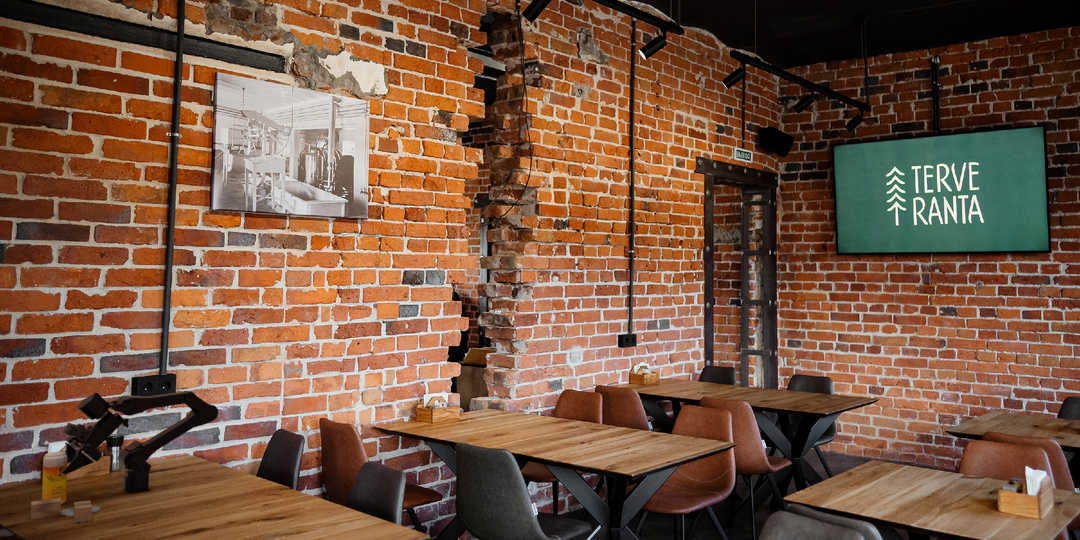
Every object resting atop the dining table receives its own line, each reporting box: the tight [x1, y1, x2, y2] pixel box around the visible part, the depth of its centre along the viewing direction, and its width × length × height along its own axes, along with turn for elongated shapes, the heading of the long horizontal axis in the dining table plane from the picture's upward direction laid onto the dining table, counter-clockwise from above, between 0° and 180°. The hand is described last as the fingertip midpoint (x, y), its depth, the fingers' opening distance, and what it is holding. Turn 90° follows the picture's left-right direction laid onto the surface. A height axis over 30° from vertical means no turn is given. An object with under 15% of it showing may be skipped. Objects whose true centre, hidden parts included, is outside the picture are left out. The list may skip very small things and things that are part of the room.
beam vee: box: [30, 498, 101, 524], centre depth 219 cm, size 15×20×4 cm
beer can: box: [41, 451, 68, 505], centre depth 228 cm, size 6×6×15 cm
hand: (60, 470), depth 229 cm, fingers open, 9 cm apart
